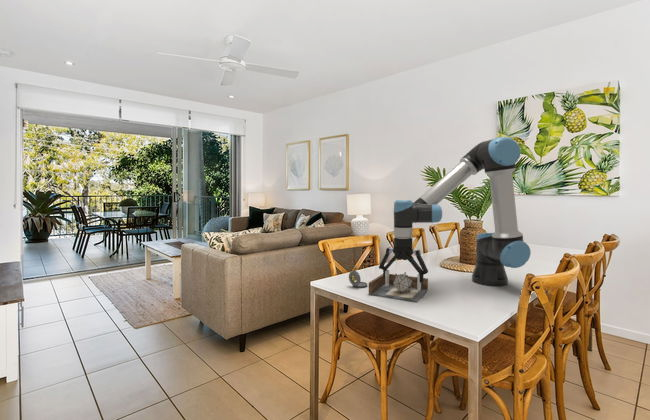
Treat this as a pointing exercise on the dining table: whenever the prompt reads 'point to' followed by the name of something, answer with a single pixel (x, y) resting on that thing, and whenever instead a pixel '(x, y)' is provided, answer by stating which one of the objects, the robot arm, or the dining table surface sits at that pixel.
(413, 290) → the tray
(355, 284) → the pocket watch
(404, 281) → the game die
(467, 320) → the dining table surface
